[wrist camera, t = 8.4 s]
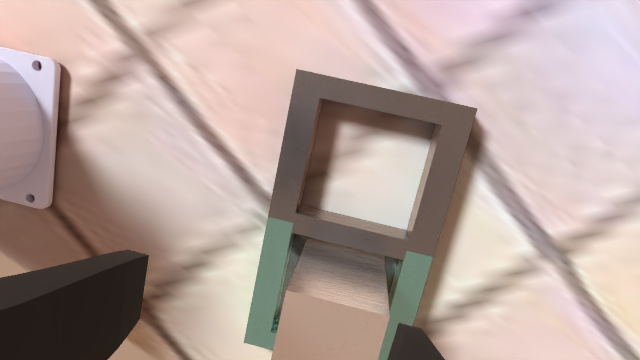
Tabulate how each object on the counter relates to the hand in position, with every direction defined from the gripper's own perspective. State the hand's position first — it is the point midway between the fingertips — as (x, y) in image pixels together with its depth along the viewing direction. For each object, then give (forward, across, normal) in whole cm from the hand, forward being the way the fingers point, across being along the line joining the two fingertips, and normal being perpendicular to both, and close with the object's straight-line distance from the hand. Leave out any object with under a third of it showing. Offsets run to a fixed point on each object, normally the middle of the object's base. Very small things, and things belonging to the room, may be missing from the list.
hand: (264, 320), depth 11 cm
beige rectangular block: (+10, -2, +3) cm, 11 cm away
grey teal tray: (+10, -2, 0) cm, 10 cm away
